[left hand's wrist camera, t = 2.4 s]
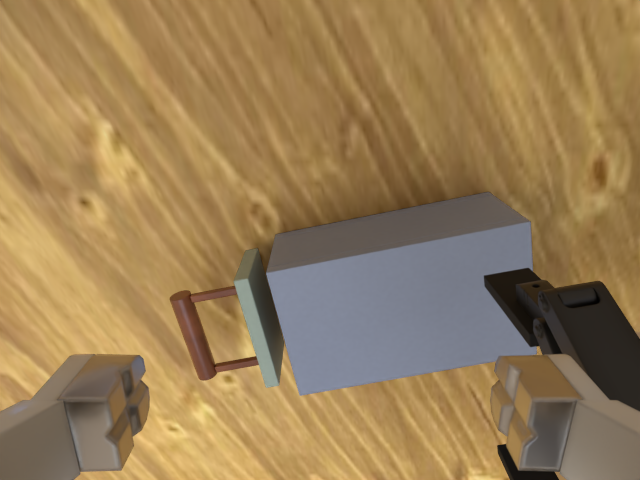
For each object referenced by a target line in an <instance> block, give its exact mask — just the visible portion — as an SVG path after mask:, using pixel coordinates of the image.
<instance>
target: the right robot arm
mask: <svg viewBox="0 0 640 480" xmlns="http://www.w3.org/2000/svg"><path fill="white" fill-rule="evenodd" d="M484 286H485V288H486V289H487V290H488V292H489V293H490V294H491V296H492V297H493V298H494V300H495V301H496V302H497V304H498V305H499V306H500V308H501V309H502V310H503V312H504V313H505V314H506V316H507V317H508V318H509V320H510V321H511V322H512V324H513V325H514V326H515V328H516V329H517V330H518V332H519V333H520V334H521V336H522V337H523V338H524V340H525V341H526V342H527V344H528V345H529V346H530V347H536V346H540V349H541V352H542V354H543V355H545V354H567V355H569V356H571V357H572V358H573V360H574V361H575V362H576V363H577V364H578V365H579V366H580V367H581V369H582V370H583V371H584V372H585V373H586V374H587V375H588V376H589V377H590V379H591V380H592V381H593V382H594V383H595V384H596V385H597V386H598V388H599V389H600V390H601V391H602V392H603V393H604V394H605V395H606V396H607V398H608V399H609V400H618V401H620V402H622V403H624V404H626V405H628V406H630V407H632V408H634V409H636V410H638V411H640V339H639V337H638V336H637V334H636V333H635V331H634V330H633V328H632V326H631V325H630V323H629V322H628V320H627V319H626V317H625V316H624V314H623V313H622V311H621V309H620V308H619V306H618V305H617V303H616V302H615V300H614V299H613V297H612V296H611V294H610V293H609V291H608V289H607V288H606V286H605V285H604V284H603V283H602V282H600V281H594V282H588V283H582V284H576V285H570V286H565V287H559V288H554V287H553V286H552V285H551V284H550V283H549V282H548V281H546V280H541V279H540V278H539V277H538V276H537V275H536V274H535V273H534V272H533V271H532V270H531V269H530V268H524V269H518V270H512V271H507V272H501V273H495V274H490V275H484ZM497 447H498V454H499V457H500V459H501V461H502V463H503V465H504V467H505V470H506V472H507V474H508V476H509V478H510V480H559V479H558V477H557V475H556V474H555V472H553V471H519V470H518V468H517V466H516V464H515V462H514V460H513V458H512V456H511V455H510V453H509V451H508V449H507V447H506V444H503V445H497Z"/></svg>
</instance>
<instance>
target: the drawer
mask: <svg viewBox="0 0 640 480" xmlns="http://www.w3.org/2000/svg"><path fill="white" fill-rule="evenodd" d="M234 285H235V286H231V287H226V288H221V289H215V290H210V291H205V292H200V293H195V294H192V295H191V292H190V291H187V290H185V291H180V292H177V293H175V294H173V295H172V296H171V297H170V302H171V304H172V307H173V310H174V312H175V315H176V318H177V321H178V323H179V326H180V329H181V332H182V334H183V337H184V340H185V342H186V345H187V348H188V351H189V353H190V356H191V359H192V361H193V364H194V367H195V370H196V372H197V375H198V378H199V379H200V380H209V379H211V378H213V377H214V376H215V375H216V374H217V372H222V371H227V370H233V369H239V368H244V367H250V366H255V365H259V366H260V369H261V373H262V376H263V379H264V382H265V386H266V388H268V387H273V386H279V382H280V374H281V365H282V357H283V348H284V340H283V337H282V333H281V330H280V326H279V322H278V319H277V315H276V312H275V308H274V304H273V301H272V297H271V293H270V290H269V286H268V283H267V279H266V275H265V272H264V268H263V265H262V261H261V257H260V254H259V250H258V248H255V249H250V250H246V251H245V254H244V256H243V259H242V261H241V264H240V266H239V269H238V271H237V274H236V277H235V279H234ZM236 294H238V298H239V301H240V304H241V307H242V311H243V314H244V317H245V320H246V324H247V327H248V330H249V334H250V337H251V340H252V343H253V347H254V350H255V353H256V356H255V357H250V358H244V359H239V360H233V361H228V362H222V363H217V364H215V361H214V359H213V356H212V353H211V350H210V347H209V344H208V341H207V338H206V336H205V333H204V330H203V327H202V324H201V321H200V318H199V315H198V312H197V310H196V307H195V304H194V302H200V301H205V300H210V299H215V298H220V297H226V296H231V295H236Z"/></svg>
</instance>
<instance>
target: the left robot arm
mask: <svg viewBox="0 0 640 480" xmlns="http://www.w3.org/2000/svg"><path fill="white" fill-rule="evenodd" d="M145 371H146V370H145V365H144V360H143V358H142V357H141V356H140V355H110V354H97V355H95V354H75V355H71V356H69V357H68V358H67V360H66V361H65V362H64V363H63V364H62V365H61V366H60V367H59V369H58V370H57V371H56V372H55V373H54V374H53V375H52V376H51V377H50V379H49V380H48V381H47V382H46V383H45V384H44V385H43V386H42V388H41V389H40V390H39V391H38V392H37V393H36V394H35V395H34V396H33V398H32V399H31V400H22V401H20V402H18V403H16V404H14V405H12V406H10V407H8V408H6V409H4V410H2V411H0V480H74V479H75V478H76V477H77V476H78V475H80V472H87V471H121V470H122V468H123V466H124V464H125V462H126V460H127V458H128V457H129V455H130V453H131V451H132V449H133V447H134V443H133V436H134V435H136V434H137V433H138V432H140V431H141V430H142V429H143V426H144V424H145V422H146V420H147V416H148V411H149V401H150V396H149V389H148V387H147V386H146V385H145V384H144V383H143V381H142V380H141V378H142V377H143V375H144V373H145ZM494 371H495V373H496V375H497V377H498V378H499V380H498V381H497V383H496V384H495V385H494V386H493V387H492V389H491V398H490V403H491V413H492V416H493V419H494V422H495V424H496V426H497V429H498V430H499V431H500V432H502V433H503V434H504V435H506V436H507V443H506V447H507V449H508V451H509V453H510V455H511V456H512V458H513V460H514V462H515V464H516V466H517V468H518V470H519V471H553V472H560V474H561V475H562V476H563V477H564V478H565V479H567V480H640V411H638V410H636V409H634V408H632V407H630V406H628V405H626V404H624V403H622V402H620V401H618V400H609V399H608V398H607V396H606V395H605V394H604V393H603V392H602V391H601V390H600V389H599V388H598V386H597V385H596V384H595V383H594V382H593V381H592V380H591V379H590V377H589V376H588V375H587V374H586V373H585V372H584V371H583V370H582V369H581V367H580V366H579V365H578V364H577V363H576V362H575V361H574V360H573V358H572V357H571V356H569V355H567V354H545V355H513V356H498V358H497V361H496V364H495V370H494Z"/></svg>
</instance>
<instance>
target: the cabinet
mask: <svg viewBox="0 0 640 480" xmlns="http://www.w3.org/2000/svg"><path fill="white" fill-rule="evenodd" d="M524 268H530V269H531V270H532V271H533V262H532V240H531V222H530V221H529V220H528V219H526V218H524V217H523V216H522V215H520V214H519V213H518V212H516V211H515V210H513V209H512V208H511V207H509V206H508V205H506V204H505V203H504V202H502V201H501V200H499V199H498V198H497V197H495V196H494V195H493V194H491V193H490V192H485V193H480V194H475V195H470V196H465V197H460V198H455V199H450V200H445V201H440V202H435V203H430V204H425V205H420V206H415V207H410V208H405V209H400V210H395V211H390V212H385V213H380V214H375V215H370V216H365V217H360V218H355V219H350V220H345V221H340V222H335V223H330V224H325V225H320V226H315V227H310V228H305V229H300V230H295V231H290V232H285V233H280V234H276V235H275V239H274V244H273V248H272V252H271V256H270V260H269V264H268V268H267V271H266V275H267V279H268V283H269V286H270V290H271V293H272V297H273V301H274V304H275V308H276V311H277V315H278V319H279V322H280V326H281V330H282V333H283V337H284V340H285V344H286V348H287V351H288V355H289V359H290V362H291V366H292V369H293V373H294V377H295V380H296V384H297V387H298V391H299V395H300V396H301V395H306V394H312V393H318V392H323V391H329V390H335V389H341V388H346V387H352V386H358V385H363V384H369V383H375V382H381V381H386V380H392V379H398V378H403V377H409V376H415V375H420V374H426V373H432V372H438V371H443V370H449V369H455V368H460V367H466V366H472V365H478V364H483V363H489V362H495V361H497V358H498V356H513V355H535V354H537V348H536V347H530V346H529V345H528V344H527V342H526V341H525V340H524V338H523V337H522V336H521V334H520V333H519V332H518V330H517V329H516V328H515V326H514V325H513V324H512V322H511V321H510V320H509V318H508V317H507V316H506V314H505V313H504V312H503V310H502V309H501V308H500V306H499V305H498V304H497V302H496V301H495V300H494V298H493V297H492V296H491V294H490V293H489V292H488V290H487V289H486V288H485V286H484V275H490V274H495V273H501V272H507V271H512V270H518V269H524Z"/></svg>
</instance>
